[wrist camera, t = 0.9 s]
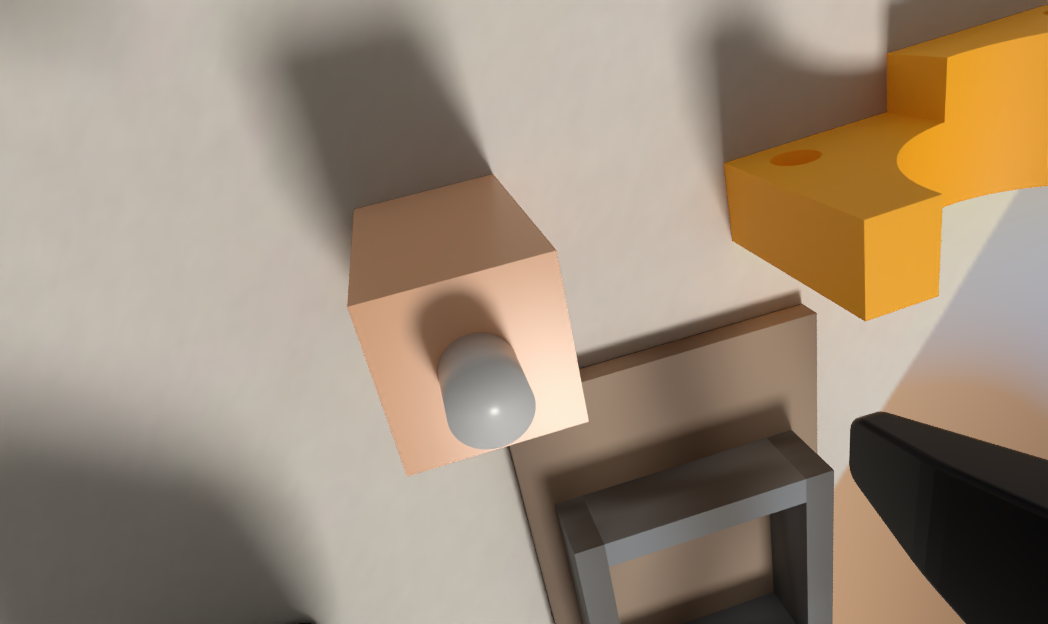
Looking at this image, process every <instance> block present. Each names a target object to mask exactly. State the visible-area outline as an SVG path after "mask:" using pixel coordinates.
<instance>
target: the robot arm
mask: <svg viewBox="0 0 1048 624" xmlns="http://www.w3.org/2000/svg"><path fill="white" fill-rule="evenodd" d="M849 465H850V471H851V474H852V477H853V479H854V480H855V482H856V484H857V485H858V487H859V488H860V489H861V491H862V492H863V493H864V495H865V496H866V498H867V499H868V500H869V502H870V503H871V505H872V506H873V507H874V509H875V510H876V511H877V513H878V514H879V516H880V517H881V518H882V520H883V521H884V522H885V524H886V525H887V527H888V528H889V529H890V531H891V532H892V533H893V535H894V536H895V538H896V539H897V540H898V542H899V543H900V544H901V546H902V547H903V549H904V550H905V551H906V553H907V554H908V555H909V557H910V558H911V560H912V561H913V562H914V563H915V565H916V566H917V567H918V569H919V570H920V571H921V573H922V574H923V575H924V576H925V577H926V579H927V580H928V581H929V582H930V583H931V585H932V586H933V587H934V588H935V589H936V590H937V592H938V593H939V594H940V595H941V596H942V597H943V598H944V599H945V601H946V602H947V603H948V604H949V605H950V606H951V607H952V609H954V611H955V612H956V613H957V614H958V615H959V616H960V618H961V619H962V620H963V621H964V622H965V623H966V624H1048V460H1046V459H1042V458H1039V457H1036V456H1033V455H1029V454H1026V453H1022V452H1019V451H1016V450H1012V449H1008V448H1005V447H1002V446H999V445H995V444H992V443H989V442H985V441H982V440H978V439H975V438H972V437H968V436H965V435H961V434H958V433H954V432H951V431H948V430H944V429H941V428H938V427H934V426H931V425H928V424H924V423H920V422H917V421H914V420H911V419H907V418H904V417H900V416H897V415H894V414H890V413H887V412H875V413H872V414H869V415H865V416H862V417H859V418H857V419H855V420H854V421H853V422H852V424H851V429H850V459H849ZM301 624H310V623H301Z"/></svg>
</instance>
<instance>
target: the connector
mask: <svg viewBox="0 0 1048 624" xmlns="http://www.w3.org/2000/svg"><path fill="white" fill-rule="evenodd" d="M347 307H348V310H349V313H350V316H351V319H352V322H353V324H354V327H355V330H356V333H357V336H358V339H359V341H360V344H361V347H362V350H363V353H364V356H365V358H366V361H367V364H368V367H369V370H370V373H371V375H372V378H373V381H374V384H375V387H376V390H377V392H378V395H379V398H380V401H381V404H382V407H383V409H384V412H385V415H386V418H387V421H388V424H389V426H390V429H391V432H392V435H393V438H394V441H395V443H396V446H397V449H398V452H399V455H400V458H401V460H402V463H403V466H404V469H405V472H406V475H407V476H410V475H414V474H417V473H420V472H424V471H427V470H430V469H434V468H437V467H440V466H443V465H447V464H450V463H453V462H457V461H460V460H463V459H467V458H470V457H473V456H477V455H480V454H483V453H486V452H490V451H493V450H496V449H500V448H503V447H506V446H510V445H513V444H516V443H520V442H523V441H526V440H530V439H533V438H536V437H539V436H543V435H546V434H549V433H553V432H556V431H559V430H563V429H566V428H569V427H573V426H576V425H579V424H583V423H586V422H589V420H588V414H587V409H586V404H585V398H584V393H583V388H582V383H581V377H580V372H579V367H578V362H577V356H576V351H575V346H574V340H573V335H572V330H571V325H570V319H569V314H568V309H567V304H566V298H565V293H564V288H563V282H562V277H561V272H560V267H559V261H558V256H557V251H556V249H555V248H554V247H553V246H552V244H551V243H550V242H549V241H548V240H547V238H546V237H545V236H544V235H543V234H542V232H541V231H540V230H539V229H538V228H537V226H536V225H535V224H534V223H533V222H532V220H531V219H530V218H529V217H528V216H527V214H526V213H525V212H524V211H523V210H522V208H521V207H520V206H519V205H518V204H517V202H516V201H515V200H514V199H513V197H512V196H511V195H510V194H509V193H508V191H507V190H506V189H505V188H504V187H503V185H502V184H501V183H500V182H499V181H498V179H497V178H496V177H495V176H494V175H493V174H491V175H487V176H483V177H479V178H475V179H471V180H467V181H463V182H459V183H455V184H452V185H448V186H444V187H440V188H436V189H432V190H428V191H424V192H420V193H416V194H412V195H408V196H404V197H400V198H396V199H392V200H389V201H385V202H381V203H377V204H373V205H369V206H365V207H361V208H357V209H354V216H353V230H352V245H351V260H350V275H349V289H348V304H347Z"/></svg>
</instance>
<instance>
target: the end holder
mask: <svg viewBox="0 0 1048 624" xmlns="http://www.w3.org/2000/svg"><path fill="white" fill-rule="evenodd" d="M579 372H580V377H581V383H582V388H583V393H584V398H585V404H586V409H587V414H588V420H589V422H586V423H583V424H579V425H576V426H573V427H569V428H566V429H563V430H559V431H556V432H553V433H549V434H546V435H543V436H539V437H536V438H533V439H530V440H526V441H523V442H520V443H516V444H513V445H510V446H509V448H510V452H511V456H512V460H513V463H514V467H515V471H516V475H517V479H518V483H519V487H520V490H521V494H522V498H523V502H524V506H525V510H526V514H527V517H528V521H529V525H530V529H531V533H532V537H533V540H534V544H535V548H536V552H537V556H538V560H539V564H540V567H541V571H542V575H543V579H544V583H545V587H546V591H547V594H548V598H549V602H550V606H551V610H552V614H553V617H554V621H555V624H832V606H833V605H832V604H833V603H832V602H833V595H832V594H833V505H834V504H833V502H834V501H833V500H834V470H833V469H832V468H831V467H830V466H829V465H828V464H827V463H826V462H825V461H824V460H823V459H822V458H821V457H820V456H819V455H818V454H817V313H816V312H814V311H812V310H811V309H809V308H808V307H806V306H805V305H803V304H801V305H797V306H794V307H790V308H787V309H783V310H780V311H777V312H773V313H770V314H766V315H763V316H760V317H756V318H753V319H749V320H746V321H742V322H739V323H736V324H732V325H729V326H725V327H722V328H718V329H715V330H712V331H708V332H705V333H701V334H698V335H694V336H691V337H688V338H684V339H681V340H677V341H674V342H670V343H667V344H664V345H660V346H657V347H653V348H650V349H647V350H643V351H640V352H636V353H633V354H629V355H626V356H623V357H619V358H616V359H612V360H609V361H605V362H602V363H599V364H595V365H592V366H588V367H585V368H581V369H579Z"/></svg>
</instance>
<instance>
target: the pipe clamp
mask: <svg viewBox="0 0 1048 624" xmlns="http://www.w3.org/2000/svg"><path fill="white" fill-rule="evenodd" d="M724 171H725V180H726V189H727V198H728V207H729V215H730V224H731V233H732V241H734V242H735V243H737V244H739V245H740V246H742V247H744V248H745V249H747V250H749V251H750V252H752V253H754V254H755V255H757V256H758V257H760V258H762V259H763V260H765V261H767V262H768V263H770V264H772V265H773V266H775V267H777V268H778V269H780V270H782V271H783V272H785V273H787V274H788V275H790V276H791V277H793V278H795V279H796V280H798V281H800V282H801V283H803V284H805V285H806V286H808V287H810V288H811V289H813V290H815V291H816V292H818V293H820V294H821V295H823V296H824V297H826V298H828V299H829V300H831V301H833V302H834V303H836V304H838V305H839V306H841V307H843V308H844V309H846V310H848V311H849V312H851V313H852V314H854V315H856V316H857V317H859V318H861V319H862V320H864V321H868V320H871V319H874V318H877V317H880V316H882V315H885V314H888V313H891V312H894V311H897V310H900V309H903V308H906V307H908V306H911V305H914V304H917V303H920V302H923V301H926V300H929V299H932V298H934V297H937V296H939V273H940V249H941V226H942V208H943V207H945V206H948V205H951V204H954V203H957V202H960V201H963V200H967V199H971V198H974V197H979V196H983V195H987V194H992V193H998V192H1003V191H1009V190H1016V189H1023V188H1032V187H1041V186H1048V4H1047V5H1044V6H1041V7H1037V8H1034V9H1031V10H1028V11H1024V12H1021V13H1018V14H1014V15H1011V16H1008V17H1005V18H1001V19H998V20H995V21H992V22H988V23H985V24H982V25H978V26H975V27H972V28H969V29H965V30H962V31H959V32H956V33H952V34H949V35H946V36H943V37H939V38H936V39H933V40H929V41H926V42H923V43H920V44H916V45H913V46H910V47H907V48H903V49H900V50H897V51H893V52H890V53H887V112H885V113H882V114H878V115H875V116H872V117H869V118H866V119H862V120H859V121H856V122H853V123H850V124H847V125H843V126H840V127H837V128H834V129H831V130H828V131H824V132H821V133H818V134H815V135H812V136H808V137H805V138H802V139H799V140H796V141H793V142H789V143H786V144H783V145H780V146H777V147H773V148H770V149H767V150H764V151H761V152H758V153H754V154H751V155H748V156H745V157H742V158H738V159H735V160H732V161H729V162H726V163H724Z"/></svg>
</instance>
